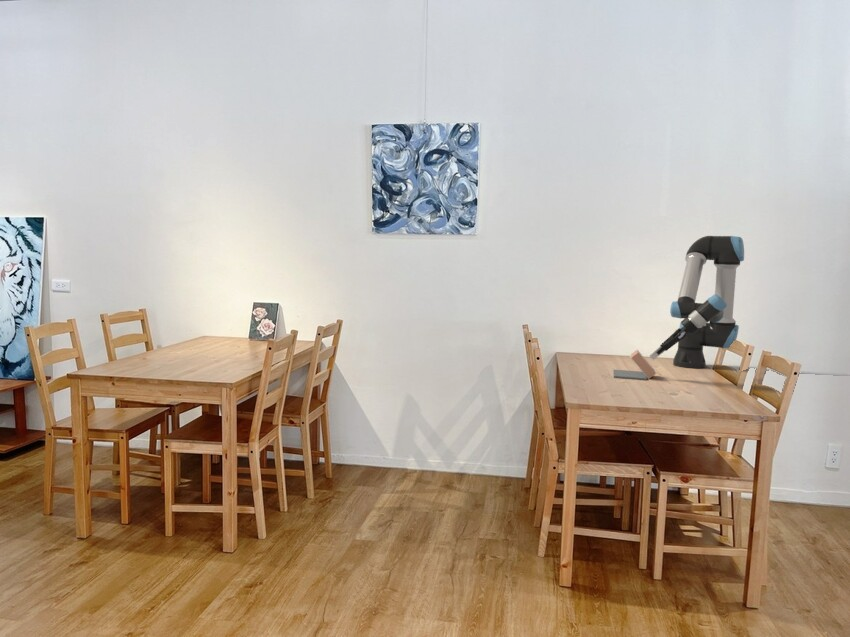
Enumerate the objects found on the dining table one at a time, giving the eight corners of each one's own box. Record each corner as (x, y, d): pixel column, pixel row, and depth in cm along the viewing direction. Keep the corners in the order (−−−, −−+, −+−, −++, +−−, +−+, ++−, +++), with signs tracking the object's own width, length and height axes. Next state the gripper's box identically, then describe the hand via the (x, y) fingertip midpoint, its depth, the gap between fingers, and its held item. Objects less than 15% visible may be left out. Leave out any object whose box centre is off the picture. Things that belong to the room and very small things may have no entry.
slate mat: (644, 373, 306) (644, 371, 306) (646, 380, 291) (646, 378, 291) (613, 371, 310) (613, 369, 310) (613, 377, 294) (613, 375, 294)
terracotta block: (654, 369, 302) (637, 349, 303) (656, 373, 293) (638, 352, 294) (647, 375, 303) (630, 354, 304) (648, 379, 294) (630, 358, 295)
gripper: (701, 331, 284) (658, 366, 290) (697, 327, 296) (655, 361, 302) (689, 318, 284) (646, 353, 291) (685, 315, 297) (644, 349, 303)
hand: (651, 357), depth 296 cm, fingers closed
